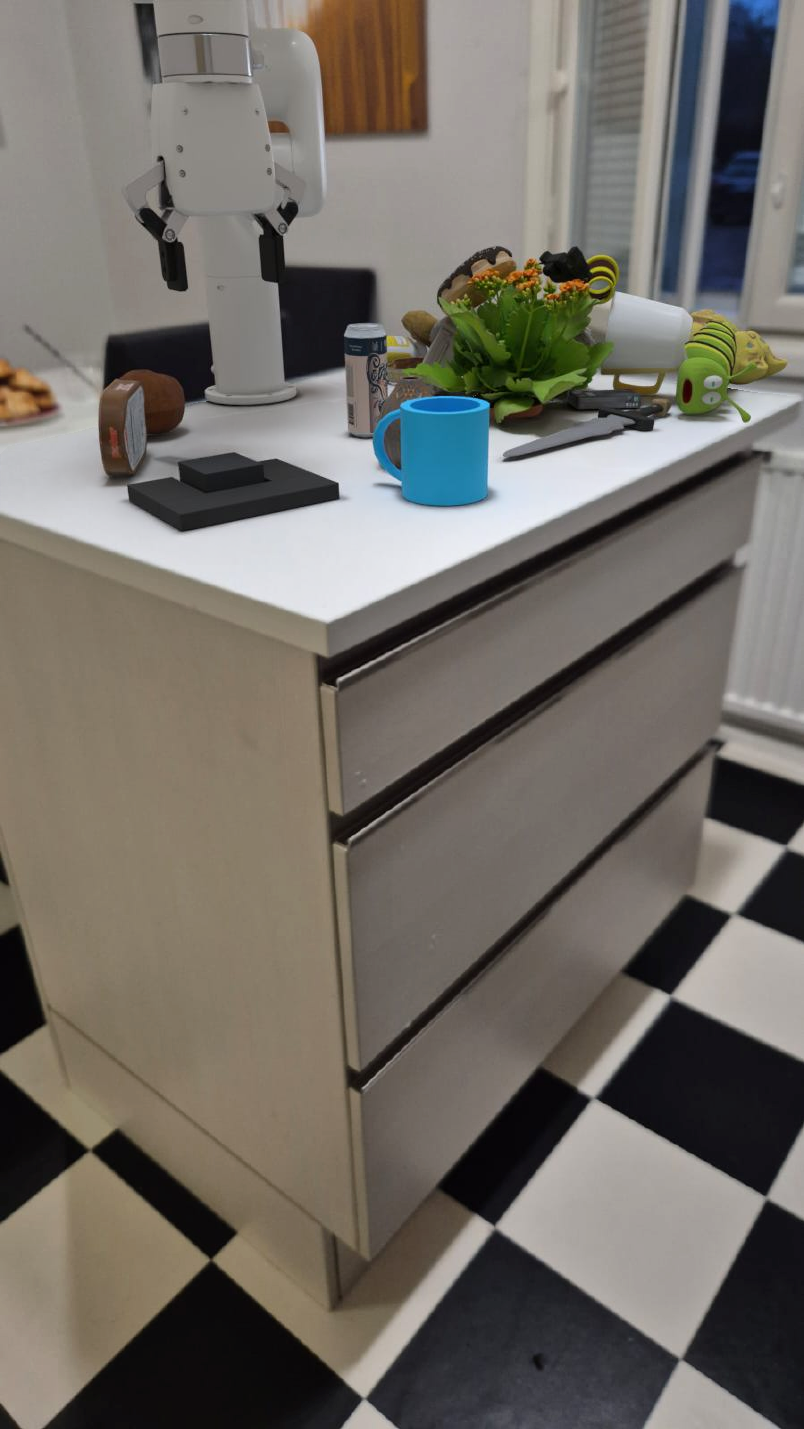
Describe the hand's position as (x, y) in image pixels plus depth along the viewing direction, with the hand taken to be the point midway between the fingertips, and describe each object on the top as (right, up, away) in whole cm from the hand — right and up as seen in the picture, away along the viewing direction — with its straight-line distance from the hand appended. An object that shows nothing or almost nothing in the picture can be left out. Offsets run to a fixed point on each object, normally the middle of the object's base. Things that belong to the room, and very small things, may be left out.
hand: (226, 285), depth 91 cm
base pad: (0, -19, +2) cm, 19 cm away
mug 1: (+19, -18, +3) cm, 26 cm away
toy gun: (+34, +17, +30) cm, 48 cm away
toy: (+54, +7, +37) cm, 66 cm away
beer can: (+12, -7, +25) cm, 29 cm away
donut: (+27, +14, +35) cm, 46 cm away
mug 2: (+53, +8, +37) cm, 65 cm away
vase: (+17, -14, +12) cm, 25 cm away
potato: (-14, -7, +26) cm, 30 cm away
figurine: (+57, +15, +53) cm, 79 cm away
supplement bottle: (+10, +15, +57) cm, 60 cm away
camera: (+21, +8, +48) cm, 53 cm away
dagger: (+44, +1, +34) cm, 56 cm away
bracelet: (+18, +10, +55) cm, 59 cm away
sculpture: (+23, +16, +55) cm, 62 cm away
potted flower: (+29, -1, +34) cm, 45 cm away
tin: (-13, -14, +13) cm, 23 cm away
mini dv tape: (+43, 0, +34) cm, 55 cm away
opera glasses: (+37, +15, +34) cm, 53 cm away
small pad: (-1, -18, +3) cm, 19 cm away
